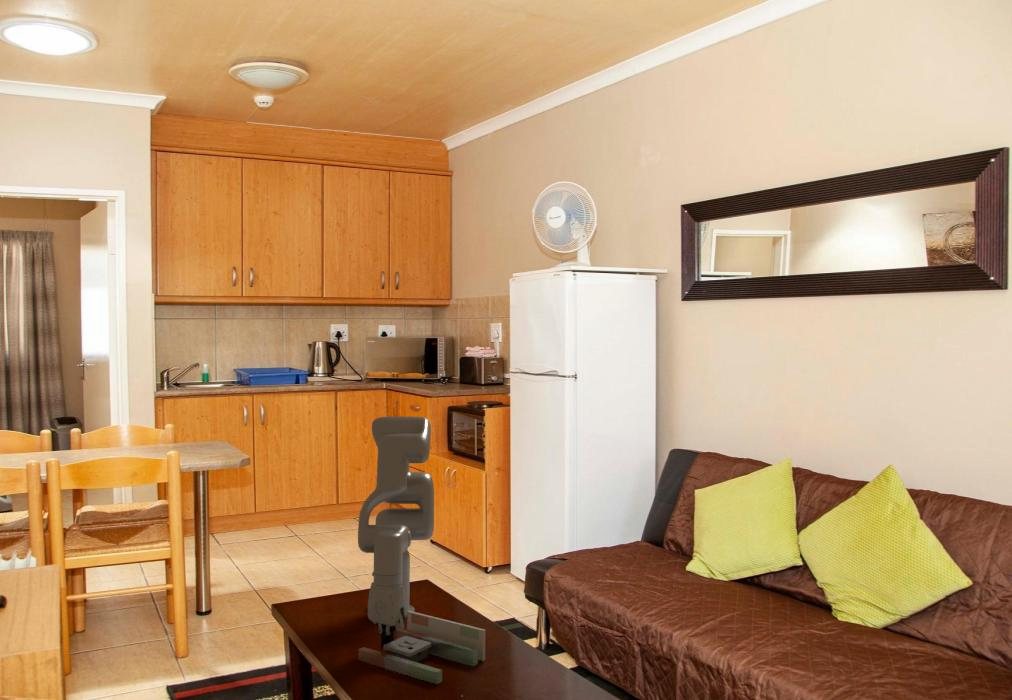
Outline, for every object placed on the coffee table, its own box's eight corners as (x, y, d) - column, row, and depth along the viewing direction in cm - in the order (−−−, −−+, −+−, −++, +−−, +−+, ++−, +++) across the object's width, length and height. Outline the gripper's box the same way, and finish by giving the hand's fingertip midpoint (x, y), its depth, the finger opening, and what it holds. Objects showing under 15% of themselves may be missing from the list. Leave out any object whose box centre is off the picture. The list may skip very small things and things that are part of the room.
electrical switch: (410, 654, 218) (383, 639, 223) (407, 673, 218) (380, 658, 223) (433, 643, 226) (406, 629, 231) (430, 661, 226) (403, 647, 231)
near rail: (358, 660, 222) (358, 649, 222) (363, 658, 224) (363, 647, 224) (436, 684, 208) (436, 672, 207) (441, 682, 209) (442, 669, 209)
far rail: (396, 644, 234) (396, 630, 234) (401, 642, 236) (401, 628, 236) (473, 666, 219) (473, 650, 219) (477, 664, 221) (477, 648, 221)
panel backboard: (406, 640, 238) (407, 611, 238) (409, 639, 238) (409, 610, 238) (482, 661, 223) (483, 630, 223) (485, 660, 224) (485, 629, 224)
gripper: (357, 577, 229) (356, 646, 229) (399, 587, 220) (398, 658, 220) (377, 571, 235) (376, 638, 235) (418, 580, 226) (418, 650, 226)
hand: (387, 648), depth 228 cm, fingers closed
